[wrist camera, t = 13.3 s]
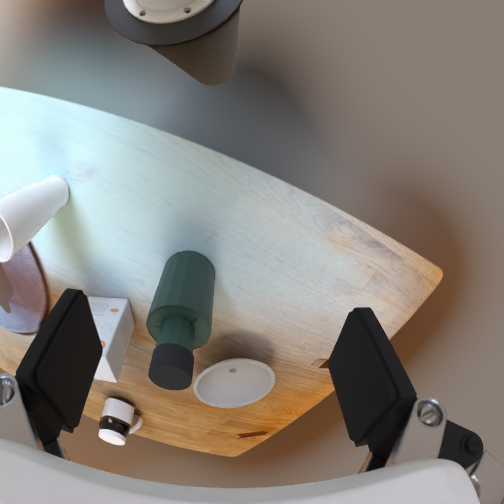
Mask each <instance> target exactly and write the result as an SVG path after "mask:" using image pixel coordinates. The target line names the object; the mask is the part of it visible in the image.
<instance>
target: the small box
mask: <svg viewBox="0 0 504 504" xmlns="http://www.w3.org/2000/svg"><path fill="white" fill-rule="evenodd" d="M88 301H89V305H90V308H91V312H92V315H93V319H94V322H95V325H96V328H97V331H98V334H99V337H100V340H101V343H102V347H103V353H102V357H101V359H100V362H99V365H98V368H97V370H96V373H95V376H94V379H97V380H103V381H109V382H115V383H117V382H118V379H119V376H120V372H121V369H122V365H123V362H124V359H125V355H126V352H127V349H128V346H129V343H130V340H131V336H132V333H133V330H134V327H135V323H134V320H133V316H132V312H131V308H130V304H129V300H128V299H120V298H106V297H92V296H88Z"/></svg>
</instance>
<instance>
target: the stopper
mask: <svg viewBox="0 0 504 504" xmlns="http://www.w3.org/2000/svg"><path fill="white" fill-rule="evenodd" d="M193 366H194V356H193V354H192V353H191V352H190V351H189V350H188V349H187V348H185V347H184V346H181V345H178V344H174V343H164V344H160V345H158V346H157V347H156V348H155V349H154V351H153V355H152V359H151V364H150V368H149V373H148V374H149V378H150V380H151V381H152V382H153V383H154V384H156V385H157V386H159V387H162V388H164V389H168V390H183V389H186V388H188V387H189V386H190V385H191V383H192V376H193Z"/></svg>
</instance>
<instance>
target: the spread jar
mask: <svg viewBox="0 0 504 504" xmlns="http://www.w3.org/2000/svg"><path fill="white" fill-rule="evenodd" d="M142 422H143V420H142V419H141V417H140V416H139V415H134V406H133V405H132V404H131V403H130V402H129V401H128V400H126V399H124V398H122V397H118V396H109V397H108V398H107V399H106V401H105V404H104V408H103V411H102V415H101V419H100V423H99V424H100V425H99V427H100V431H99V437H100V438H102V439H103V440H105V441H107V442H109V443H112V444H116V445H124V444H125V441H126V437H127V435H128V434H130V433H133V432H135V431H136V430H137V429H139V428H140V426H141V425H142Z"/></svg>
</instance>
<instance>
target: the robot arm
mask: <svg viewBox="0 0 504 504" xmlns="http://www.w3.org/2000/svg"><path fill="white" fill-rule="evenodd" d="M213 1H214V0H123V2H124V5H125V7H126V8H127V10H128V11H129V12H130V13H131V14H132V15H133V16H135V17H137V18H138V19H140V20H142V21H145V22H149V23H155V24H166V23H173V22H177V21H181V20H185V19H187V18H190V17H192V16H194V15H196V14H198V13H199V12H201V11H203V10H204V9H205V8H207V7H208V6H209V5H210V4H211V3H212V2H213ZM187 11H190V12H189V13H186V12H187ZM144 14H145V15H144ZM143 15H144V16H143ZM102 353H103V347H102V343H101V340H100V337H99V334H98V331H97V328H96V325H95V322H94V319H93V315H92V312H91V308H90V305H89V301H88V298H87V296H86V295H84V293H83V291H82V290H77V289H70V288H68V289H66V290H65V291H64V293H63V294H62V296H61V297H60V299H59V300H58V302H57V303H56V305H55V306H54V308H53V309H52V311H51V312H50V314H49V315H48V317H47V318H46V320H45V322H44V323H43V325H42V326H41V328H40V330H39V331H38V333H37V335H36V336H35V338H34V340H33V342H32V343H31V345H30V347H29V349H28V350H27V352H26V354H25V356H24V358H23V359H22V361H21V363H20V365H19V367H18V369H17V371H16V376H15V378H14V377H13V376H11V375H10V374H5V373H4V374H0V504H503V502H504V465H503V464H501V463H500V462H499V461H498V460H497V459H496V458H495V457H494V456H493V455H492V454H490V453H489V452H488V451H487V450H485V451H484V452H483V443H482V440H481V438H480V437H479V436H478V435H477V434H476V433H474V432H472V431H470V430H468V429H465V428H463V427H461V426H459V425H457V424H455V423H453V422H451V421H449V420H447V413H446V410H445V408H444V406H443V404H442V403H441V402H440V401H439V400H437V399H435V398H433V397H430V396H426V397H425V396H424V397H421V398H419V399H417V397H416V395H417V394H416V392H415V390H414V388H413V386H412V384H411V381H410V380H409V377H408V376H407V373H406V372H405V369H404V368H403V366H402V364H401V362H400V360H399V358H398V356H397V354H396V352H395V350H394V348H393V347H392V345H391V343H390V341H389V339H388V337H387V335H386V334H385V332H384V330H383V328H382V326H381V325H380V323H379V321H378V319H377V318H376V316H375V314H374V312H373V311H372V309H371V308H369V307H361V308H354V309H353V311H352V312H349V314H348V316H347V319H346V321H345V323H344V326H343V328H342V331H341V333H340V335H339V338H338V340H337V342H336V344H335V347H334V349H333V351H332V353H331V356H330V358H329V361H328V368H329V371H330V374H331V378H332V381H333V384H334V387H335V390H336V394H337V397H338V400H339V404H340V407H341V410H342V414H343V417H344V420H345V424H346V427H347V431H348V434H349V438H350V439H351V440H352V441H354V442H355V446H356V447H358V446H363V445H367V444H368V447H369V450H370V452H369V453H368V455H367V458H366V459H365V461H364V463H363V465H362V467H361V469H360V471H359V473H358V474H356V475H351V476H347V477H341V478H336V479H331V480H326V481H320V482H314V483H306V484H299V485H290V486H279V487H264V488H207V487H193V486H182V485H172V484H165V483H158V482H152V481H146V480H140V479H135V478H130V477H125V476H121V475H116V474H113V473H109V472H105V471H101V470H98V469H94V468H91V467H87V466H84V465H81V464H78V463H74V462H71V461H70V459H69V457H68V455H67V453H66V451H65V448H64V446H63V444H62V442H61V439H60V437H59V435H60V431H61V430H64V431H67V432H70V433H73V430H74V427H77V426H78V425H79V422H80V419H81V415H82V412H83V409H84V406H85V402H86V399H87V396H88V393H89V390H90V387H91V384H92V382H93V379H94V376H95V373H96V370H97V368H98V365H99V362H100V359H101V357H102Z"/></svg>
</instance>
